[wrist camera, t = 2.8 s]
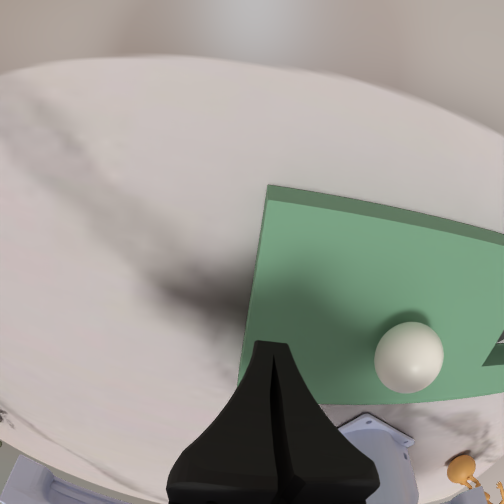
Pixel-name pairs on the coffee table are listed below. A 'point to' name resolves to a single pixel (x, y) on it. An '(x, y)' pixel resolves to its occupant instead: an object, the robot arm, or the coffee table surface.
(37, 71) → the coffee table surface
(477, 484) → the figurine
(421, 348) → the ball
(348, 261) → the putting mat
